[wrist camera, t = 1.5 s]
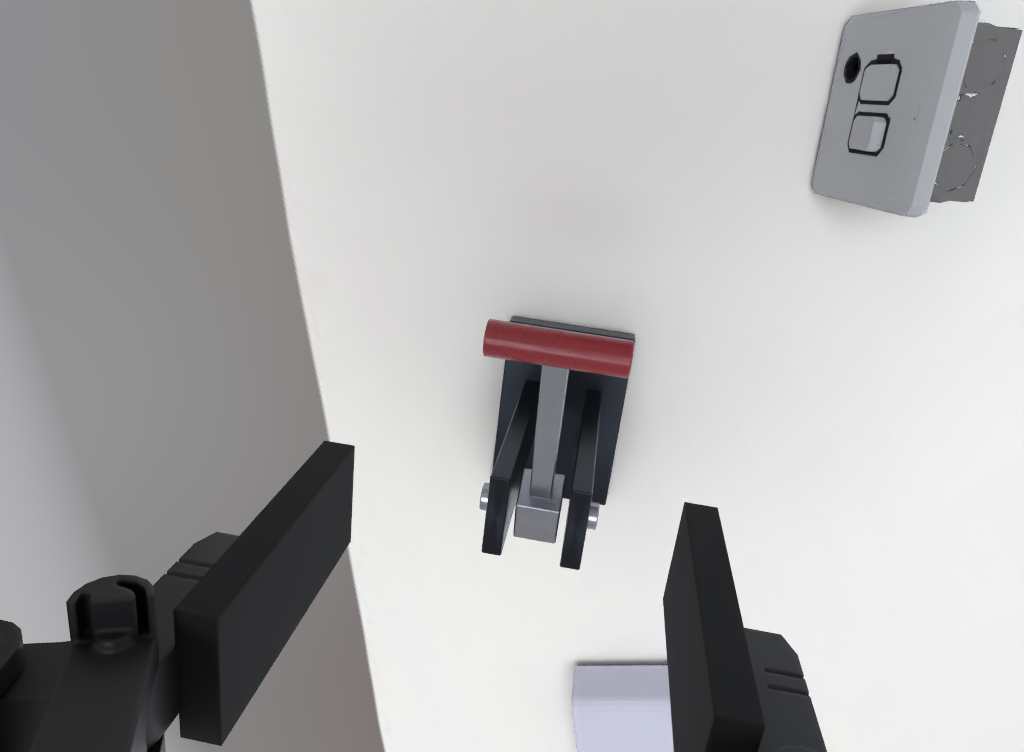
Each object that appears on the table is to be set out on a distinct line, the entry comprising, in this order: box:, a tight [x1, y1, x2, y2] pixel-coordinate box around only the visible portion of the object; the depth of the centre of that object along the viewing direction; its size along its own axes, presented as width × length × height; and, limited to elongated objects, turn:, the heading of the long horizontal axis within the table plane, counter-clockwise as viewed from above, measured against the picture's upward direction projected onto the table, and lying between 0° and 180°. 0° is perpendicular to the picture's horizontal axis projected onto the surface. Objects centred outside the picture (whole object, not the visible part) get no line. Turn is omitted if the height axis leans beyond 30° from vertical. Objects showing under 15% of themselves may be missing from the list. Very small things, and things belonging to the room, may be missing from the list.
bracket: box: [480, 316, 635, 570], centre depth 44 cm, size 12×8×15 cm, turn 173°
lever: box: [483, 319, 634, 543], centre depth 35 cm, size 13×6×2 cm, turn 173°
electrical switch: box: [812, 1, 1022, 217], centre depth 38 cm, size 9×5×9 cm, turn 175°
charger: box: [572, 665, 674, 752], centre depth 56 cm, size 5×9×15 cm
